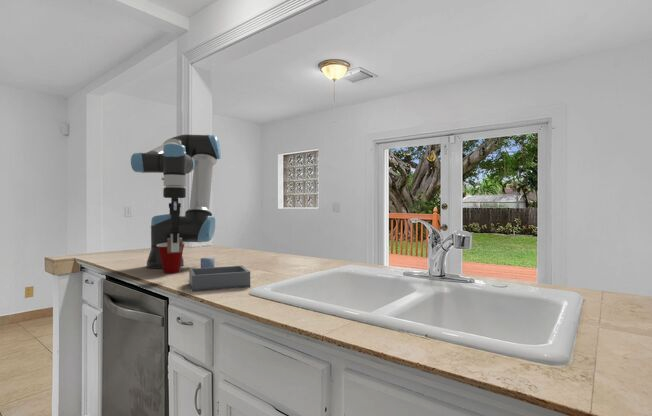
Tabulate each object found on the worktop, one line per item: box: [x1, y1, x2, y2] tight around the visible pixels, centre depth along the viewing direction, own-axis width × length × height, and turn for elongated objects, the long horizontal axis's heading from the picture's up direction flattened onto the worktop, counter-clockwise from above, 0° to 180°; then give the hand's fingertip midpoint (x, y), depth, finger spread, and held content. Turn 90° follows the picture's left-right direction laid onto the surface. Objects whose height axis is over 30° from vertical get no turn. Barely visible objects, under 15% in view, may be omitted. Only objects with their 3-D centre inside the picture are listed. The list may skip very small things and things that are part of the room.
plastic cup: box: [156, 242, 186, 274], centre depth 147 cm, size 11×11×12 cm
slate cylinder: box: [200, 257, 216, 268], centre depth 137 cm, size 5×5×7 cm
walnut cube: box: [167, 238, 184, 254], centre depth 133 cm, size 5×5×5 cm
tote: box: [188, 265, 251, 293], centre depth 123 cm, size 14×18×5 cm
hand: (174, 250), depth 133 cm, fingers closed on walnut cube, 5 cm apart
